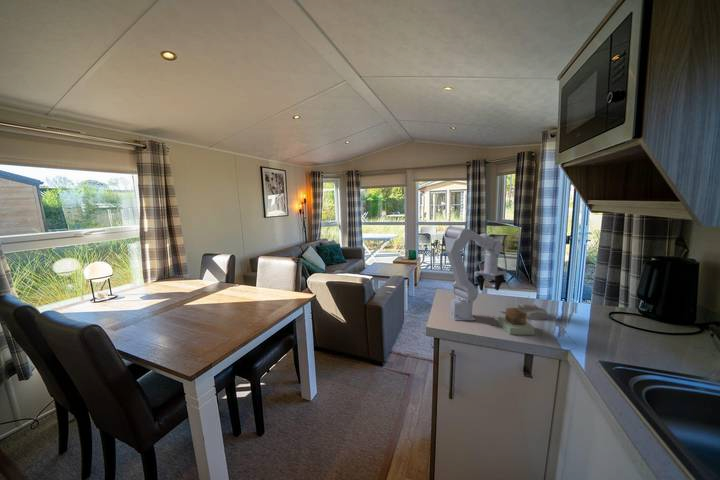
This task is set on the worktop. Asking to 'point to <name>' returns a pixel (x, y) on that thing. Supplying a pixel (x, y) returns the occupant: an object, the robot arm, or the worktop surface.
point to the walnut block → (515, 316)
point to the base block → (516, 327)
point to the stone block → (533, 311)
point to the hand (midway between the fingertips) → (488, 289)
